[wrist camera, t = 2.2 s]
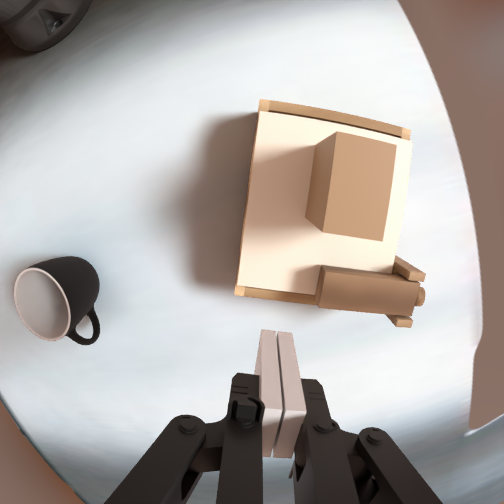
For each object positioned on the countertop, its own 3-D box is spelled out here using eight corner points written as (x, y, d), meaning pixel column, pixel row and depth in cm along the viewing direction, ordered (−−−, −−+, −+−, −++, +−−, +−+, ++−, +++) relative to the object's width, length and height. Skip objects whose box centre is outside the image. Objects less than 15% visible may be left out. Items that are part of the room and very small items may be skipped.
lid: (259, 115, 31) (259, 83, 20) (403, 143, 31) (460, 132, 20) (238, 278, 34) (228, 323, 23) (377, 295, 34) (419, 340, 23)
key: (321, 264, 31) (325, 271, 29) (419, 277, 31) (430, 284, 29) (314, 298, 32) (318, 307, 30) (411, 307, 32) (421, 316, 30)
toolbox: (259, 111, 35) (259, 86, 25) (404, 140, 35) (447, 130, 25) (238, 278, 40) (230, 311, 29) (378, 295, 40) (410, 329, 29)
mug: (46, 269, 40) (3, 290, 30) (83, 235, 39) (39, 252, 29) (92, 337, 42) (58, 372, 32) (133, 310, 41) (101, 344, 31)
